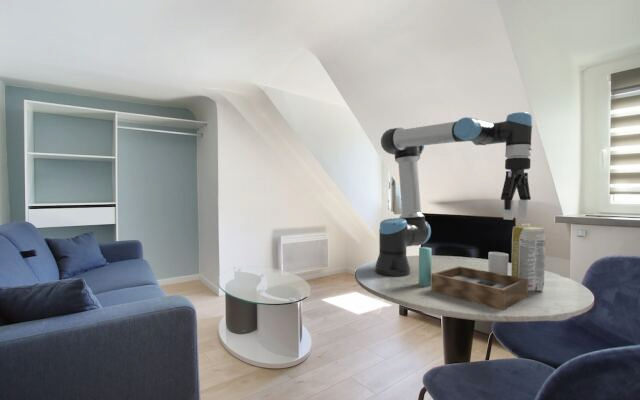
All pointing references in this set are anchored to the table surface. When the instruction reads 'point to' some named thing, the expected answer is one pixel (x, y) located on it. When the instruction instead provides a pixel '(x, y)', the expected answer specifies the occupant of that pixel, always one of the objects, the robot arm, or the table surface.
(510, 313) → the table surface
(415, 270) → the table surface
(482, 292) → the crate
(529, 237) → the juice carton
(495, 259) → the mug
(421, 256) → the peg
